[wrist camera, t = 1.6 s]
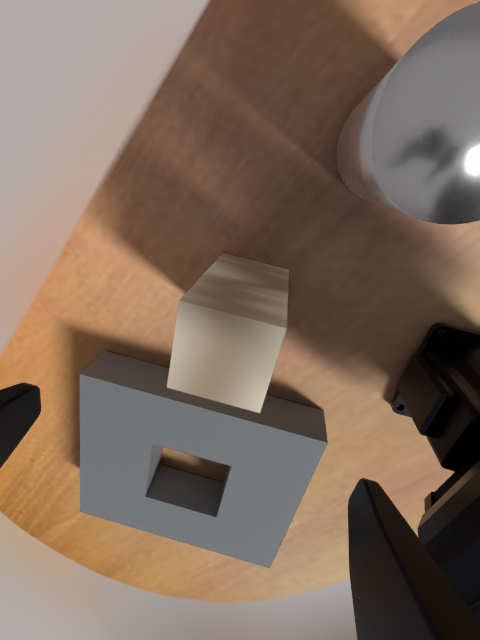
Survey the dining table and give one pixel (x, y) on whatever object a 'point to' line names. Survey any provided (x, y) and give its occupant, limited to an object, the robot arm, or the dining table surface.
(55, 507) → the dining table surface
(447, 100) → the steel round peg
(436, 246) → the dining table surface
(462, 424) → the robot arm
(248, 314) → the square peg
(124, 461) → the socket block
